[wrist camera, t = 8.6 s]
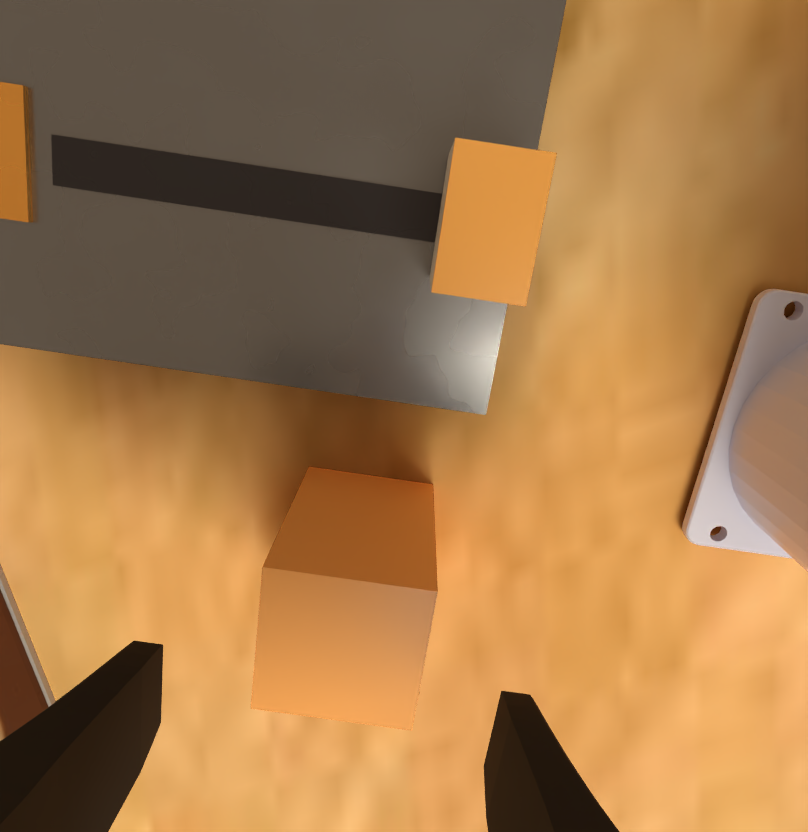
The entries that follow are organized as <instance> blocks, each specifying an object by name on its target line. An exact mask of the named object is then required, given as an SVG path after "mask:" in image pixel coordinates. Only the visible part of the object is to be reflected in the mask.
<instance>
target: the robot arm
mask: <svg viewBox="0 0 808 832" xmlns="http://www.w3.org/2000/svg"><path fill="white" fill-rule="evenodd" d="M791 302H794V304H795V311H794V312H793V314H792V315H791V316H789V317H788V318H786V317H785V316H784V309H785V307H786V306H787V304H789V303H791ZM718 526H721V530H720V532H719V533H717V534H715V535H710V532H711V531H712V529H713V528H715V527H718ZM682 531H683V533H684V535H685V536H686V537H687V539H688V540H689V541H690V542H692V543H694V544H696V545H702V546H709V547H716V548H723V549H730V550H737V551H744V552H751V553H758V554H765V555H772V556H779V557H786V558H793V559H794V560H795V561H797V562H798V563H799V564H800V565H801V566H802V567H803V568H804V569H805V570H806V571H808V294H807V293H800V292H793V291H787V290H780V289H767V290H765V291H762V292H761V293H759V294H758V295H757V296H756V297H755V299H754V301H753V303H752V305H751V308H750V312H749V315H748V318H747V321H746V324H745V327H744V331H743V334H742V337H741V340H740V343H739V347H738V350H737V353H736V356H735V359H734V362H733V366H732V369H731V372H730V375H729V378H728V382H727V385H726V388H725V391H724V394H723V397H722V401H721V404H720V407H719V410H718V413H717V416H716V420H715V423H714V426H713V429H712V432H711V436H710V439H709V442H708V445H707V448H706V451H705V455H704V458H703V461H702V464H701V467H700V471H699V474H698V477H697V480H696V483H695V486H694V490H693V493H692V496H691V499H690V502H689V505H688V509H687V512H686V515H685V518H684V521H683V526H682ZM162 664H163V645H162V644H154V643H147V642H140V641H133V642H132V643H130V644H129V645H128V646H126V647H125V648H124V649H123V650H121V651H120V652H119V653H117V654H116V655H115V656H114V657H112V658H111V659H110V660H109V661H107V662H106V663H105V664H104V665H102V666H101V667H100V668H99V669H97V670H96V671H95V672H94V673H92V674H91V675H90V676H89V677H87V678H86V679H85V680H83V681H82V682H81V683H80V684H78V685H77V686H76V687H74V688H73V689H72V690H70V691H69V692H68V693H67V694H65V695H64V696H63V697H61V698H60V699H59V700H57V701H56V702H55V703H53V704H52V705H51V706H49V707H48V708H47V709H45V710H44V711H43V712H41V713H40V714H38V715H37V716H36V717H34V718H33V719H31V720H30V721H28V722H27V723H26V724H24V725H23V726H21V727H20V728H18V729H17V730H15V731H14V732H13V733H11V734H10V735H8V736H7V737H5V738H4V739H3V740H1V741H0V832H108V831H109V829H110V827H111V825H112V823H113V822H114V820H115V818H116V816H117V814H118V813H119V811H120V809H121V807H122V805H123V803H124V802H125V800H126V798H127V796H128V794H129V792H130V790H131V789H132V787H133V785H134V783H135V781H136V779H137V777H138V776H139V774H140V772H141V769H142V767H143V765H144V762H145V760H146V758H147V755H148V753H149V751H150V748H151V746H152V743H153V741H154V738H155V736H156V733H157V731H158V728H159V726H160V723H161V699H162ZM484 780H485V802H486V818H487V825H488V832H619V831H618V829H617V828H616V827H615V825H614V824H613V823H612V821H611V820H610V818H609V817H608V816H607V814H606V813H605V812H604V810H603V809H602V807H601V806H600V805H599V803H598V802H597V800H596V799H595V797H594V796H593V795H592V793H591V792H590V790H589V789H588V787H587V786H586V784H585V783H584V781H583V780H582V778H581V777H580V775H579V774H578V772H577V771H576V769H575V768H574V766H573V764H572V763H571V761H570V760H569V758H568V757H567V755H566V753H565V752H564V750H563V749H562V747H561V745H560V744H559V742H558V740H557V739H556V737H555V735H554V734H553V732H552V730H551V729H550V727H549V725H548V724H547V722H546V720H545V719H544V717H543V715H542V713H541V712H540V710H539V708H538V706H537V705H536V703H535V701H534V700H533V698H532V697H531V695H528V694H521V693H514V692H506V691H501V695H500V700H499V704H498V708H497V712H496V717H495V721H494V725H493V729H492V733H491V738H490V742H489V746H488V750H487V755H486V759H485V763H484Z"/></svg>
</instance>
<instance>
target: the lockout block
mask: <svg viewBox="0 0 808 832" xmlns="http://www.w3.org/2000/svg"><path fill="white" fill-rule="evenodd" d="M437 593H438V588H437V565H436V541H435V517H434V493H433V484H428V483H421V482H414V481H407V480H400V479H393V478H386V477H379V476H372V475H365V474H358V473H351V472H344V471H337V470H330V469H323V468H316V467H309V468H308V470H307V472H306V474H305V476H304V478H303V481H302V483H301V485H300V487H299V489H298V491H297V494H296V496H295V498H294V500H293V502H292V504H291V507H290V509H289V511H288V513H287V515H286V517H285V520H284V522H283V524H282V526H281V528H280V530H279V533H278V535H277V537H276V539H275V541H274V543H273V546H272V548H271V550H270V552H269V554H268V556H267V559H266V561H265V563H264V565H263V568H262V580H261V592H260V603H259V615H258V627H257V639H256V651H255V663H254V675H253V687H252V699H251V709H258V710H265V711H272V712H280V713H287V714H294V715H302V716H309V717H316V718H324V719H331V720H338V721H345V722H353V723H360V724H367V725H375V726H382V727H389V728H397V729H404V730H411V731H412V727H413V722H414V717H415V711H416V706H417V700H418V695H419V690H420V684H421V679H422V673H423V668H424V663H425V657H426V652H427V646H428V641H429V636H430V630H431V625H432V619H433V614H434V609H435V603H436V598H437Z"/></svg>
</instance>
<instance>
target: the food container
mask: <svg viewBox="0 0 808 832" xmlns="http://www.w3.org/2000/svg"><path fill="white" fill-rule="evenodd" d="M55 702H56V701H55V699H54V696H53V694H52V691H51V689H50V686H49V684H48V681H47V679H46V676H45V674H44V671H43V669H42V666H41V664H40V661H39V659H38V656H37V654H36V652H35V649H34V647H33V644H32V642H31V639H30V637H29V634H28V632H27V629H26V627H25V624H24V622H23V619H22V617H21V614H20V612H19V609H18V607H17V604H16V602H15V599H14V597H13V595H12V592H11V590H10V587H9V585H8V582H7V580H6V577H5V575H4V572H3V570H2V567H1V565H0V741H1V740H3V739H4V738H5V737H7V736H8V735H10V734H11V733H13V732H14V731H15V730H17V729H18V728H20V727H21V726H23V725H24V724H26V723H27V722H28V721H30V720H31V719H33V718H34V717H36V716H37V715H38V714H40V713H41V712H43V711H44V710H45V709H47V708H48V707H49V706H51V705H52V704H53V703H55Z"/></svg>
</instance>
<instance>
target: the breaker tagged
mask: <svg viewBox="0 0 808 832" xmlns="http://www.w3.org/2000/svg"><path fill="white" fill-rule="evenodd" d="M556 155H557V153H553V152H547V151H540V150H534V149H527V148H521V147H514V146H508V145H501V144H495V143H488V142H482V141H475V140H469V139H462V138H456V137H455V140H454V142H453V145H452V147H451V150H450V152H449V155H448V161H447V168H446V174H445V181H444V187H443V194H442V200H441V207H440V213H439V220H438V226H437V233H436V239H435V246H434V252H433V259H432V265H431V272H430V278H429V279H430V286H431V292H432V293H438V294H445V295H452V296H459V297H465V298H472V299H479V300H485V301H492V302H499V303H505V304H512V305H519V306H526V302H527V298H528V293H529V288H530V283H531V278H532V273H533V268H534V263H535V258H536V253H537V248H538V243H539V238H540V234H541V229H542V224H543V219H544V214H545V209H546V204H547V199H548V194H549V189H550V184H551V179H552V174H553V170H554V165H555V160H556Z"/></svg>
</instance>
